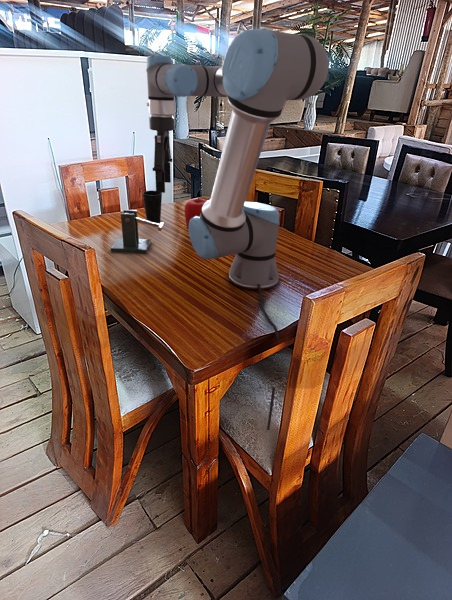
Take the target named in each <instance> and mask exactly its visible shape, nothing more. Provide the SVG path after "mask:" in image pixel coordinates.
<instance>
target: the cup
mask: <svg viewBox="0 0 452 600" xmlns="http://www.w3.org/2000/svg"><path fill="white" fill-rule="evenodd" d="M142 198H143V199H142V200H143V207H144V212H145V220H147V221H151V222H154V223H158V224H160V223H161V219H162V217H161V216H162V199H163V193H159V192H156V190H144V191H143V192H142Z"/></svg>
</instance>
